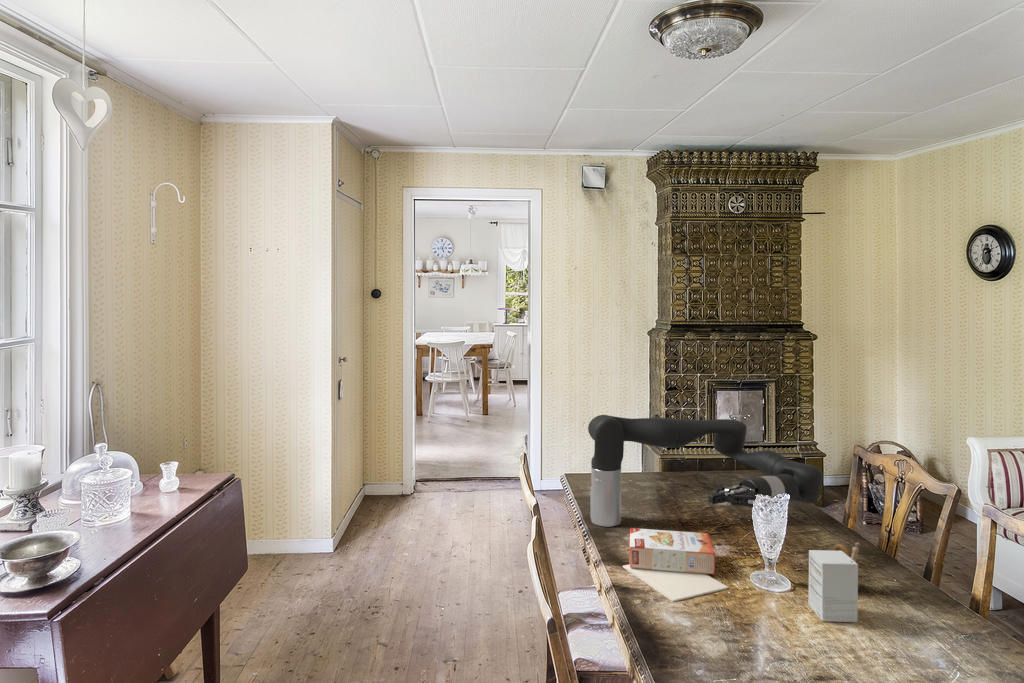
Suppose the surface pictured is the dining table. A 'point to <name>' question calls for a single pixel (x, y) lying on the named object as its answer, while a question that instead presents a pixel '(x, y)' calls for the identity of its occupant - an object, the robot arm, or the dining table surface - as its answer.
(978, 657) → the dining table surface
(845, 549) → the snail figurine
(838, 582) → the supplement box
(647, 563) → the cracker box
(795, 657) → the dining table surface
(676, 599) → the cream placemat
